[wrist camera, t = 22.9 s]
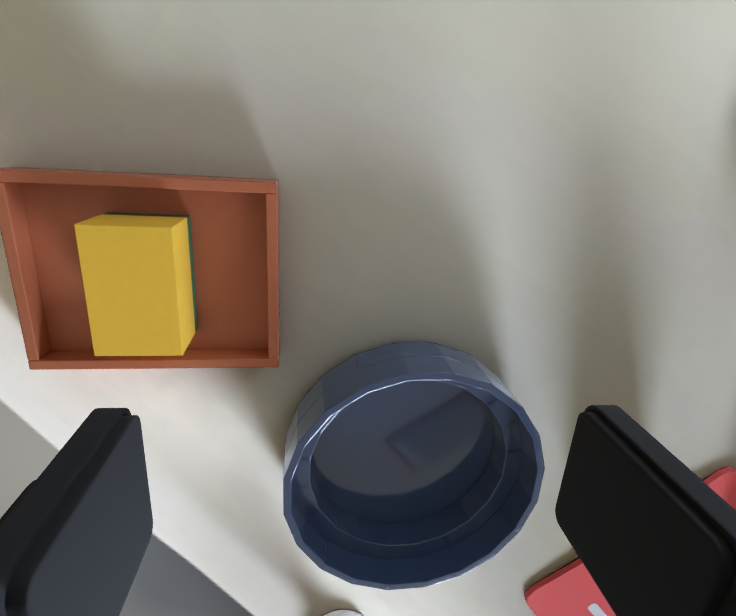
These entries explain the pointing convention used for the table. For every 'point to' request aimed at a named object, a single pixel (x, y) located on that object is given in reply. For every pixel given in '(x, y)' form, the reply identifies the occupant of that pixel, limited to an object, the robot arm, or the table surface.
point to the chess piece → (342, 613)
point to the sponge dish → (210, 256)
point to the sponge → (138, 283)
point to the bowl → (409, 467)
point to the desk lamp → (578, 589)
